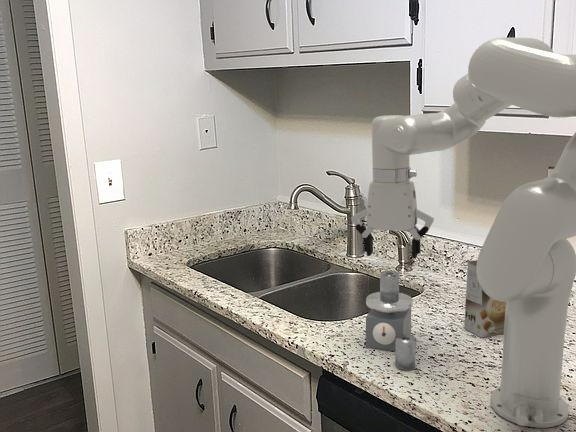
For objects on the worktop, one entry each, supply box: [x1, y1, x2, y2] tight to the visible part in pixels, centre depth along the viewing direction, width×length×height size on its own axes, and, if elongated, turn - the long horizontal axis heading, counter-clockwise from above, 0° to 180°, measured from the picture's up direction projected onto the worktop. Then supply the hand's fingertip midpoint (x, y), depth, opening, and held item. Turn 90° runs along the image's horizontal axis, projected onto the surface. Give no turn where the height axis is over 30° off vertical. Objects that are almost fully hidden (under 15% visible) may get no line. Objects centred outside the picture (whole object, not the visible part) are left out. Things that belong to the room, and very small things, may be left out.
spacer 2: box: [394, 334, 417, 372], centre depth 120 cm, size 4×4×6 cm
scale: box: [365, 308, 412, 352], centre depth 131 cm, size 11×8×7 cm
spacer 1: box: [379, 269, 400, 303], centre depth 130 cm, size 4×4×6 cm
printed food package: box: [463, 259, 507, 339], centre depth 135 cm, size 9×6×16 cm
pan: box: [365, 291, 414, 313], centre depth 131 cm, size 10×10×2 cm
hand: (392, 255), depth 128 cm, fingers open, 9 cm apart
